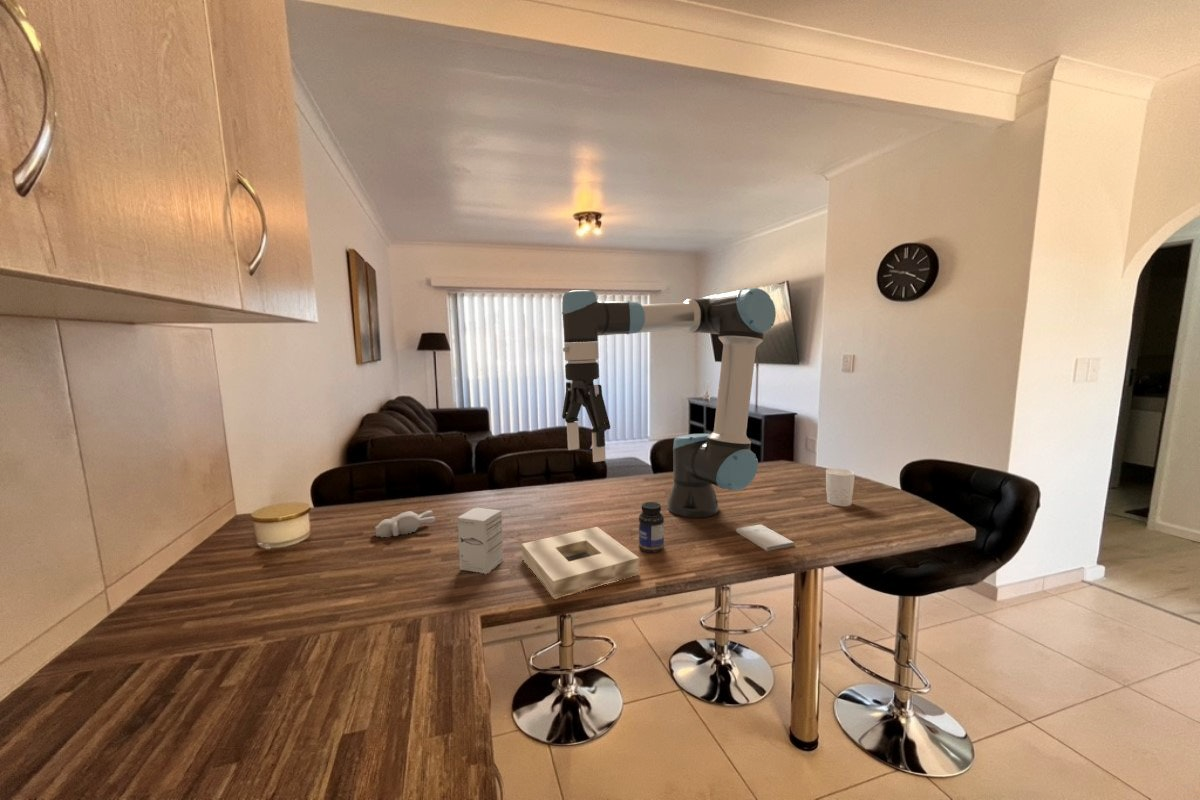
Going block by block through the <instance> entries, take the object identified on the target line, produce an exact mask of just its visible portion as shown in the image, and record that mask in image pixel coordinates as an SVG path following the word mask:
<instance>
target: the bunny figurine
mask: <svg viewBox="0 0 1200 800" xmlns="http://www.w3.org/2000/svg"><path fill="white" fill-rule="evenodd" d="M432 515H433V510H430V509H429V510H426V511H424V512H422V513H420V514H418V513H416V512H414V511H412V510H409V511H408V510H407V511H405V512H404V511H403V512H401V513H399V514H397V515H396V516H393V517H391V518H385V519H382V520H381V521H380V522H379V524H377V525H376V526H374V529H375V535H376V537H380V538H382V539H384V538H383V537H389V538H391V537H398V536H399V535H404V534H405V535H408V533H409V534H412V532H414V533H415V532H416V531H417V530H418V528H419V526H420V525H422V524H423V525H424V524H434V523H435V522H436V518H435V516H432ZM390 536H391V537H390Z"/></svg>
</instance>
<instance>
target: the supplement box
mask: <svg viewBox="0 0 1200 800" xmlns="http://www.w3.org/2000/svg"><path fill="white" fill-rule="evenodd" d="M502 514H503V513H502V510H501V509H493V508H492V509H491V508H483V507H474V508H472V509H470V510H468V511H466V512H464V513H463V514H461V515H459V516H458V517H457V531H458V533H457V534H458V552H459V555H458V556H459V567H460V568H459V569H460V570H461V571H467V572H468V571H469V572H474V573H478V572H479V573H480V574H483V573H484V574H483V575H488V574H490V572H491V570H492V569H493V570H494V569H495V568H496V567H498V566H499V565H500V564H501V563H503V561H504V543H503V541H504V540H503V539H504V538H503V517H502V516H503V515H502ZM498 564H499V565H498ZM497 565H498V566H497ZM493 570H492V571H493ZM479 573H478V574H479ZM487 573H488V574H487Z"/></svg>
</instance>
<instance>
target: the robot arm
mask: <svg viewBox="0 0 1200 800" xmlns="http://www.w3.org/2000/svg"><path fill="white" fill-rule="evenodd" d="M561 303H562V305H561V306H562V309H561V310H562V311H561V315H562V325H563V326H562V328H563V338H564V339H563V343H564V344H563V345H564V347H563V348H562V351H563V352H564V360H565V361H566V362H567V363H565V365H564V366H565V367H564V371H565V372H564V373H565V380H567V381H566V383H565V393H564V401H563V402H564V403H563V407H562V408H563V409H562V415H561V418H562V420H563V419H564V421H565V423H566V435H567V437H566V440H567V450H568V451H571V450H572V451H574V450H579V449H580V433H579V432H580V431H579V421H580V420H579V418H578V417H579V413H580V411H581V407H584V408H585V410H586V414H587V415H588V419H589V421H590V424H591V426H592V429H591V430H590V432H591V446H592V448H591V449H592V462H593V463H597V462H603V461H604V462H605V461H606V460H607V459H606V438H605V436H606V434H605V433H606V431H607V430H610V429H611V423H610V419H609V415H608V412H607V408H606V404H605V400H604V397H603V390H602V389H603V387H602V384H595V383H594V380H597V379H599V377H600V368H599V367H600V366H599V365H600V364H599V363H598V361H597V360H599V357H600V356H599V338H598V337H599V336H613V335H630V334H640V333H654V332H655V333H656V332H670V331H671V332H673V331H684V332H685V333H687V334H693V333H694V334H695V333H696V334H697V333H701V334H711V335H718V339H719V341H720V342H721V343H722V345H723V346H722V347H723V348H722V355H721V362H720V371H719V381H718V390H717V398H716V399H717V400H716V406H715V407H716V409H715V417H714V427H713V431H712V432H711V433H690V434H682V435H678V436H675V438H674V440H673V447H672V454H673V455H672V457H673V460H672V461H673V463H672V464H673V467H672V469H673V484H672V487H671V492H670V495H669V498H668V499H667V500H668V501H667V510H668V511H669V512H670V513H672V514H674V515H677V516H680V517H686V518H696V519H699V518H707V517H711V516H714V515H716V514H718V512H719V501H718V499H717V494H716V491H715V488H714V486H717V487H719V488H721V490H722V489H723V490H728V491H733V492H738V491H739V492H740V491H742V490H744V489H746V488H747V487H749V484H751V483H752V482H753V480H754V479H755V477H756V475H757V474H758V473H757V472H758V468H759V460H758V458H757V456H756V453H754V452H753V451H752V450H751V446H752V445H751V444H752V441H751V440H750V439H749V438H748V436H747V429H748V419H749V413H750V412H749V411H750V404H751V395H752V394H751V393H752V385H753V378H754V377H753V376H754V370H755V368H754V367H755V359H756V351H757V347H759V345H760V344H762V343H763V341H764V336H765V335H764V334H765V333H767V332H768V331H770V330H771V329H772V327H773V326H774V324H775V321H776V314H777V312H776V311H777V310H776V305H775V303H774V300H773V299H771V296H770V294H769V293H767V292H766V291H765V290H763V289H762V288H755V287H754V288H746V287H745V288H742V289H738V290H733V291H728V292H727V291H726V292H721V293H720V292H719V293H715V294H711V295H707V296H704V297H699V298H687V299H686V300H684V301H683V302H676V303H675V302H674V303H672V302H671V303H649V304H648V303H646V304H645V303H644V304H641V303H640V302H637V301H630V300H620V301H619V300H614V301H613V300H612V301H610V300H607V301H605V300H604V301H602V300H598V298H597V294H596V292H595V291H594V290H587V289H584V290H583V289H581V290H580V289H578V290H571V291H566V292H564V294H563V295H562V301H561Z"/></svg>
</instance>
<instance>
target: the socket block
mask: <svg viewBox="0 0 1200 800" xmlns="http://www.w3.org/2000/svg"><path fill="white" fill-rule="evenodd" d="M521 554H522V557H521V559H522V561H523V560H524V561H523V563H524V564H525V563H526V564H527V565H528V566H527V565H526V564H525V565H526V566H527V568H528V569H529V568H530V569H531V570H532V571H533V573H534V574H535V575H536V576H537V578H538V579H539V580H540V582H541V583H542V584H543V585H544V586H545V587H546V589H547V590H548V591H549V593H550V594H551V595H552V596H553V598H556V597H559V596H562V595H565V594H568V593H571V592H576V591H580V590H583V589H587V588H590V587H594V586H598V585H601V584H604V583H608V582H612V581H617V580H620V579H624V578H628V577H631V576H634V575H638V574H639V575H640V557H639V556H638V555H636V554H635V553H634V552H632V551H631V550H630V549H628V548H626V547H625V546H623V544H621V543H619V541H617V540H616V539H614V538H613V537H611V536H610V535H609V534H608V533H606V532H605V531H604V530H603V529H601V528H599V527H598V526H594V527H589V528H586V529H585V528H584V529H581V530H576V531H573V532H568V533H563V534H558V535H555V536H550V537H545V538H541V539H537V540H533V541H532V540H531V541H529V542H524V543H521ZM530 569H529V570H530ZM531 570H530V571H531ZM532 571H531V572H532ZM533 573H532V574H533ZM534 574H533V575H534ZM535 575H534V576H535ZM639 575H638V576H639ZM537 578H536V579H537ZM631 578H632V577H631ZM538 579H537V580H538ZM628 579H629V578H628ZM539 580H538V581H539ZM624 580H625V579H624ZM540 582H539V583H540ZM541 583H540V584H541ZM542 584H541V585H542ZM546 589H545V590H546ZM549 593H548V594H549ZM553 598H552V599H553Z"/></svg>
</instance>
